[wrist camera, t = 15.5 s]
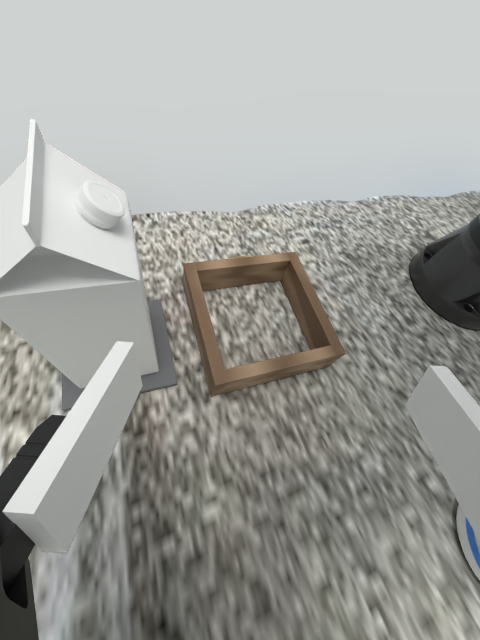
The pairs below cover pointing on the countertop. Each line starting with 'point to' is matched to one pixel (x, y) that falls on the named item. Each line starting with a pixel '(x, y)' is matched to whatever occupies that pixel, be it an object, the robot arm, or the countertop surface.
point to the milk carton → (71, 264)
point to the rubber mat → (149, 381)
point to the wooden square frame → (300, 298)
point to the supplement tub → (468, 541)
